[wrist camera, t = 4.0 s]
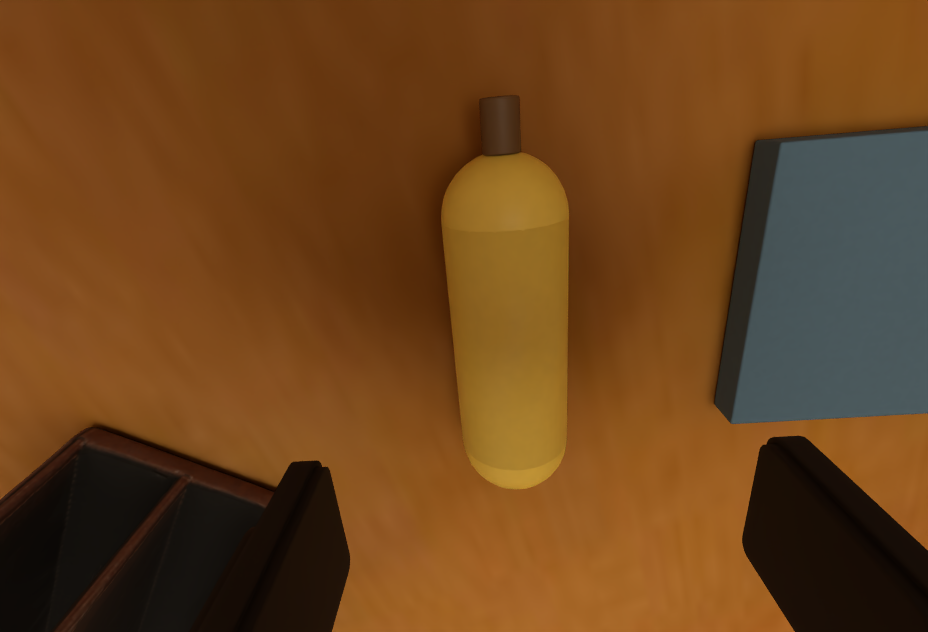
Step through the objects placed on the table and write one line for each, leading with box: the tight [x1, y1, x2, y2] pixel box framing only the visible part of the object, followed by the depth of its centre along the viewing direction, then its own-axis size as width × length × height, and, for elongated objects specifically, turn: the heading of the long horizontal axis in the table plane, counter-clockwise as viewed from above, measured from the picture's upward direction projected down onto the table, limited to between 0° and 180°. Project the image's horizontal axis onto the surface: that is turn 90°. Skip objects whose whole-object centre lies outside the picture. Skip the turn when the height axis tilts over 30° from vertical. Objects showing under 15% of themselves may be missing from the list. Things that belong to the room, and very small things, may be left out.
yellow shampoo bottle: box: [441, 95, 569, 489], centre depth 17 cm, size 15×4×4 cm, turn 5°
